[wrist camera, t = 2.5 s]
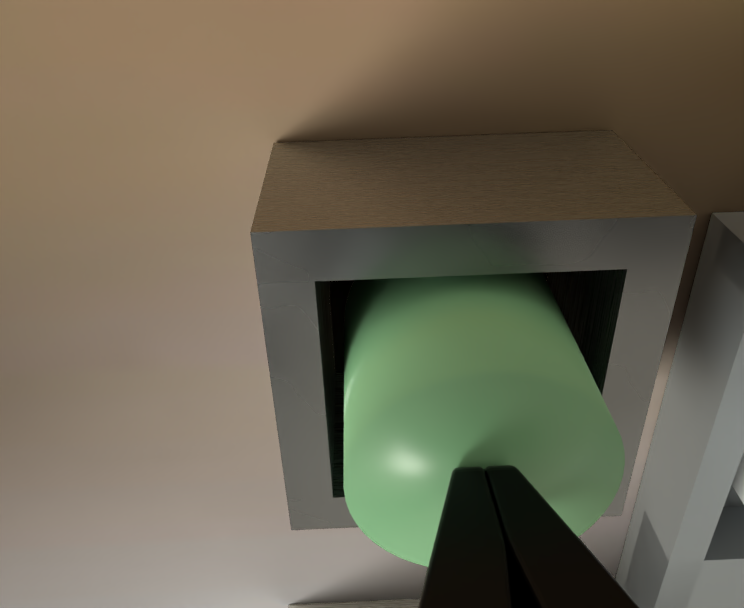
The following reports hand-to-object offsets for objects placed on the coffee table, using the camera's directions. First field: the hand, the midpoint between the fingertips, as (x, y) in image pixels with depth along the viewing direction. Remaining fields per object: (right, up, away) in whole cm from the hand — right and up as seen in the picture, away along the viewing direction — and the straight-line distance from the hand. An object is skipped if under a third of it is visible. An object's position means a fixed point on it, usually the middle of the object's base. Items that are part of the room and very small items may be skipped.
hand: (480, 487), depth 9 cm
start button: (0, +2, +3) cm, 4 cm away
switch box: (0, +3, +4) cm, 5 cm away
